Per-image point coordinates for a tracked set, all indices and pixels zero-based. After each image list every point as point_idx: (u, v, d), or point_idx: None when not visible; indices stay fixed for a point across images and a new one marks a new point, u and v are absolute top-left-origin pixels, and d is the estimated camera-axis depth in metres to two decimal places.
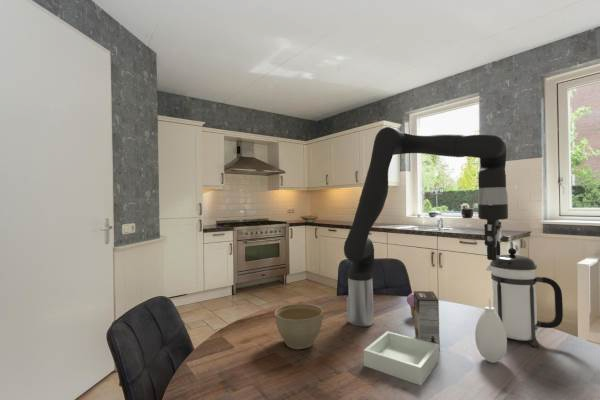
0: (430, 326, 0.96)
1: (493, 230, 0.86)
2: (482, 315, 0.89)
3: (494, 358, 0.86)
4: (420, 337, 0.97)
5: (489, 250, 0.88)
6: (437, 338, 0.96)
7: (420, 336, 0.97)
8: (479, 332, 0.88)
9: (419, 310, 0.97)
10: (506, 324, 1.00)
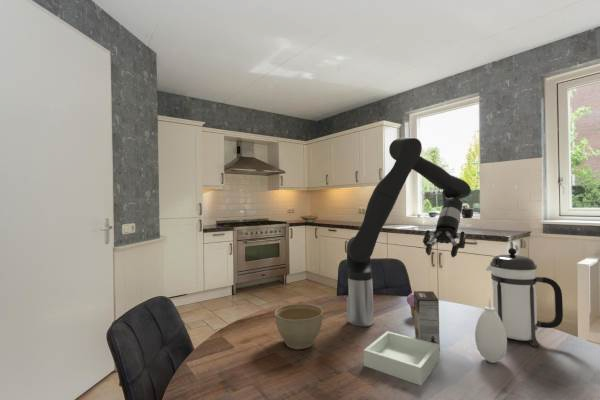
0: (430, 326, 0.96)
1: (465, 238, 1.14)
2: (482, 315, 0.89)
3: (494, 358, 0.86)
4: (420, 337, 0.97)
5: (456, 249, 1.11)
6: (437, 338, 0.96)
7: (420, 336, 0.97)
8: (479, 332, 0.88)
9: (419, 310, 0.97)
10: (506, 324, 1.00)
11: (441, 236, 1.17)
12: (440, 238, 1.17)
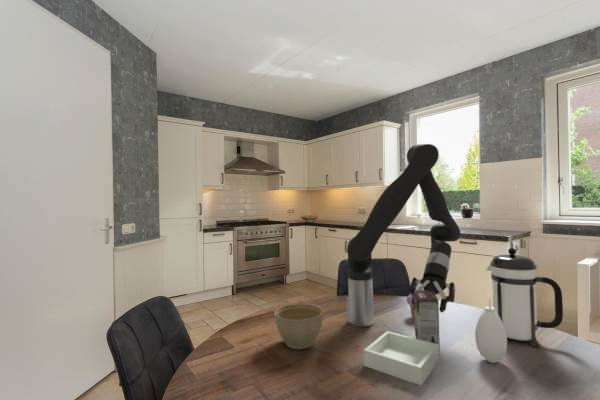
0: (430, 327, 0.96)
1: (454, 290, 1.04)
2: (482, 315, 0.89)
3: (494, 358, 0.86)
4: (420, 337, 0.97)
5: (445, 303, 1.01)
6: (437, 338, 0.96)
7: (420, 336, 0.97)
8: (479, 332, 0.88)
9: (419, 311, 0.96)
10: (506, 324, 1.00)
11: (429, 286, 1.07)
12: (428, 288, 1.06)
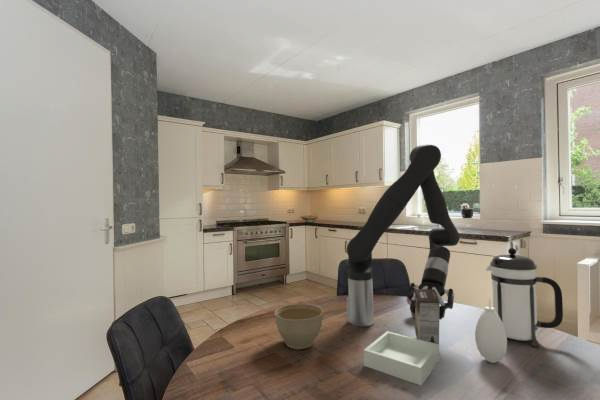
0: (430, 327, 0.95)
1: (453, 296, 1.02)
2: (482, 315, 0.89)
3: (494, 358, 0.86)
4: (419, 337, 0.97)
5: (444, 310, 0.99)
6: (437, 338, 0.95)
7: (419, 336, 0.97)
8: (479, 332, 0.88)
9: (419, 311, 0.95)
10: (506, 324, 1.00)
11: None
12: None
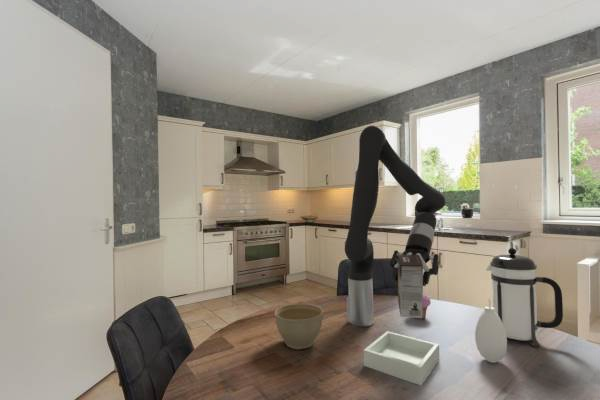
0: (413, 293, 0.88)
1: None
2: (482, 315, 0.89)
3: (494, 358, 0.86)
4: (402, 304, 0.89)
5: (428, 276, 0.91)
6: (420, 305, 0.88)
7: (402, 303, 0.89)
8: (479, 332, 0.88)
9: (401, 276, 0.88)
10: (506, 324, 1.00)
11: None
12: None
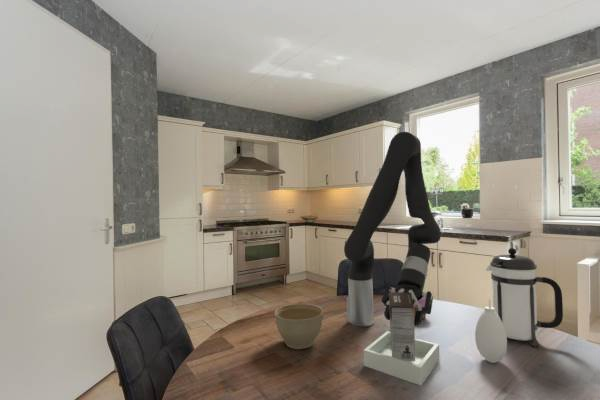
0: (405, 335, 0.84)
1: (432, 300, 0.90)
2: (482, 315, 0.89)
3: (494, 358, 0.86)
4: (393, 346, 0.85)
5: (420, 315, 0.88)
6: (412, 348, 0.84)
7: (393, 345, 0.85)
8: (479, 332, 0.88)
9: (392, 318, 0.84)
10: (506, 324, 1.00)
11: None
12: None
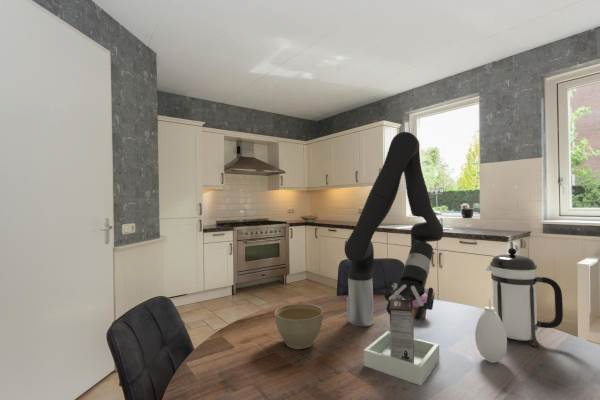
0: (403, 339, 0.85)
1: None
2: (482, 315, 0.89)
3: (494, 358, 0.86)
4: (392, 351, 0.86)
5: (422, 311, 0.90)
6: (411, 353, 0.85)
7: (392, 350, 0.86)
8: (479, 332, 0.88)
9: (391, 320, 0.86)
10: (506, 324, 1.00)
11: (406, 291, 0.96)
12: (404, 294, 0.95)
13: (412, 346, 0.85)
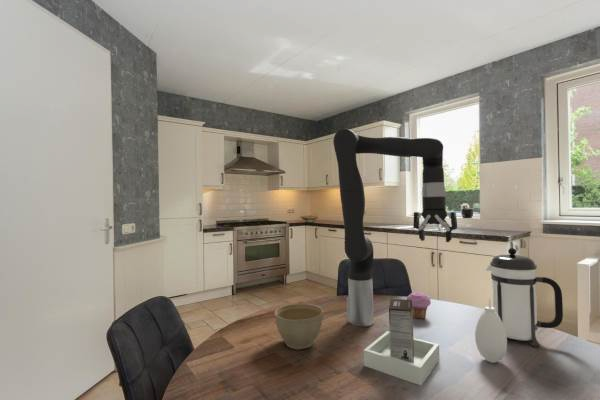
0: (403, 339, 0.86)
1: None
2: (482, 315, 0.89)
3: (494, 358, 0.86)
4: (391, 351, 0.87)
5: (450, 234, 1.07)
6: (410, 353, 0.85)
7: (391, 350, 0.87)
8: (479, 332, 0.88)
9: (390, 320, 0.87)
10: (506, 324, 1.00)
11: (431, 219, 1.10)
12: (430, 222, 1.10)
13: (411, 346, 0.85)
